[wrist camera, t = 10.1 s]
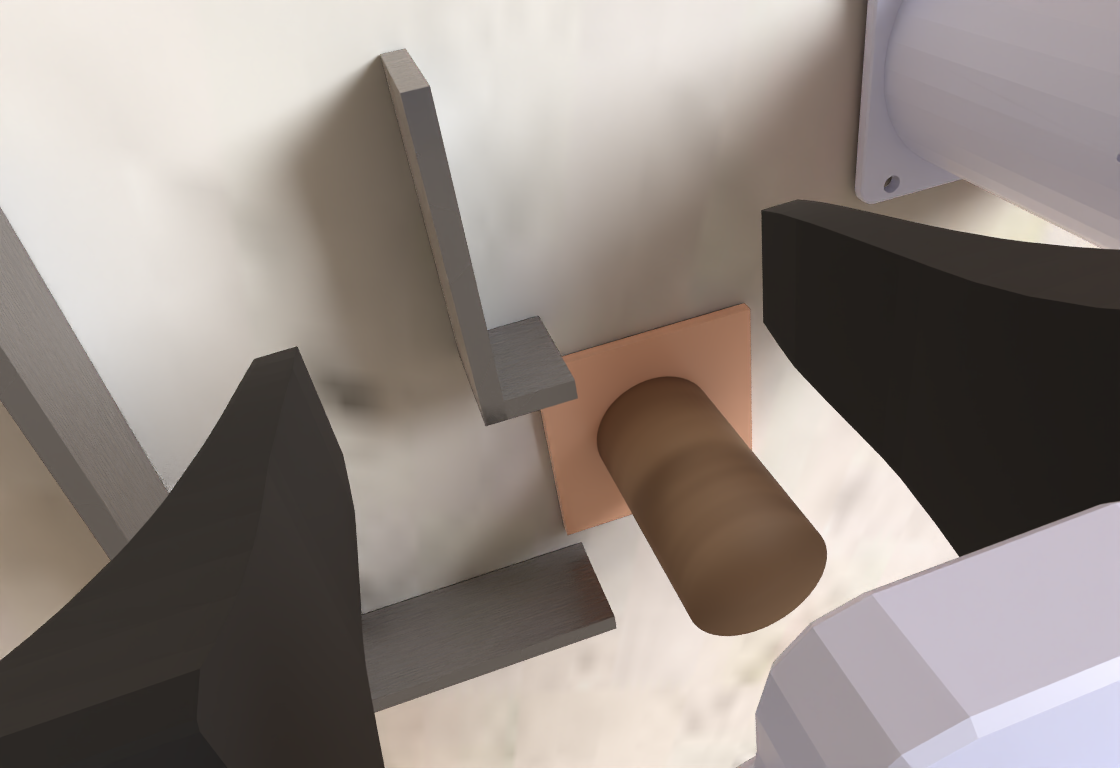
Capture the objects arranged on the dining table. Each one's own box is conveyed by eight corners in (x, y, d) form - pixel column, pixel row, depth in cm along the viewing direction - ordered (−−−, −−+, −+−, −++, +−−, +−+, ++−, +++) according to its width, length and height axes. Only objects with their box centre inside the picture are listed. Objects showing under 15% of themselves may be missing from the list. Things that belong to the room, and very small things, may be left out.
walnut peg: (722, 442, 28) (836, 590, 23) (618, 495, 28) (707, 657, 23) (694, 355, 26) (813, 497, 20) (580, 413, 26) (669, 570, 20)
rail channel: (484, 30, 19) (522, 64, 17) (583, 553, 30) (616, 628, 27) (-65, 155, 18) (-127, 216, 15) (248, 665, 28) (246, 757, 25)
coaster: (744, 303, 26) (750, 309, 26) (746, 467, 30) (751, 474, 30) (531, 365, 25) (534, 372, 25) (564, 527, 29) (567, 535, 29)
